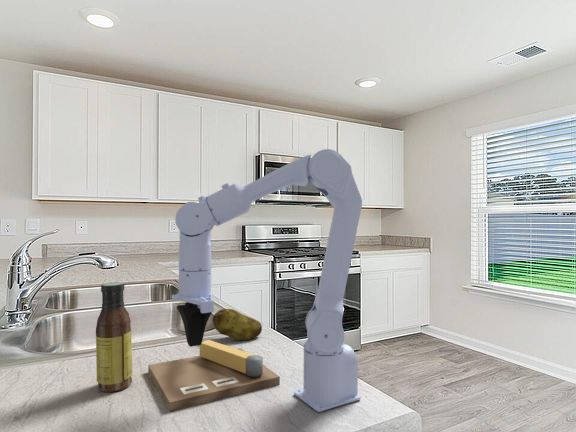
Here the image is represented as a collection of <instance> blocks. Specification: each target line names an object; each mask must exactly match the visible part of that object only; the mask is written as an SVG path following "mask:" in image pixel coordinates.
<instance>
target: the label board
mask: <svg viewBox="0 0 576 432" xmlns="http://www.w3.org/2000/svg"><path fill="white" fill-rule="evenodd" d="M237 349H238V350H241V351H244V352H246V351H245V350H244V349H243V348H237ZM147 367H148V374H149V376H150V378H151V379H152V381H153V383H154V385H155V387H156V390H158V393H159V394H160V396H161V398H162V400H163V402H164V403H165V406H166V407H167V409H168V410H169V412H173V411H177V410H181V409H185V408H189V407H194V406H197V405H202V404H205V403H209V402H210V403H211V402H214V401H218V400H221V399H227V398H229V397H230V398H231V397H233V396H238V395H243V394H246V393H251V392H255V391H258V390H264V389H266V388H272V387H275V386H279V385H280V382H281V381H280V380H281V378H280V376H279V375H278V374H277V373H275V372H274V371H273V370H271V369H270V368H268V367H267V366H266V365H264V364H263V374H262V375H260V376H257V377H251V376H248V375H247V374H245V373H243V372H240V371H237V370H235V369H232V368H229V367H227V366H224V365H222V364H219V363H216V362H214V361H211V360H209V359H206V358H203V357H201V356H200V355H196V356H190V357H186V358H179V359H174V360H169V361H164V362H157V363H153V364H148V366H147Z"/></svg>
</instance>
